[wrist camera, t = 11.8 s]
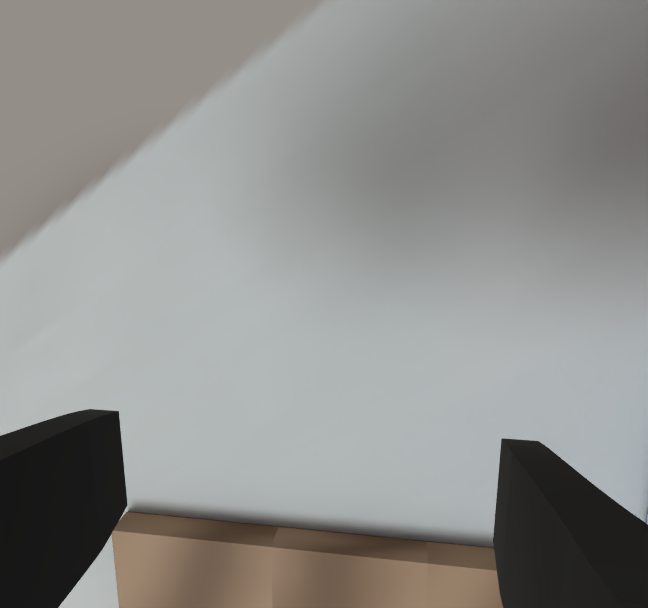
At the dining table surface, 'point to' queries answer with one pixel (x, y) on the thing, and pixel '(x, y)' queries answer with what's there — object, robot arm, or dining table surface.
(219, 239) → the dining table surface
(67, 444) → the robot arm
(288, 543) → the walnut pocket board
